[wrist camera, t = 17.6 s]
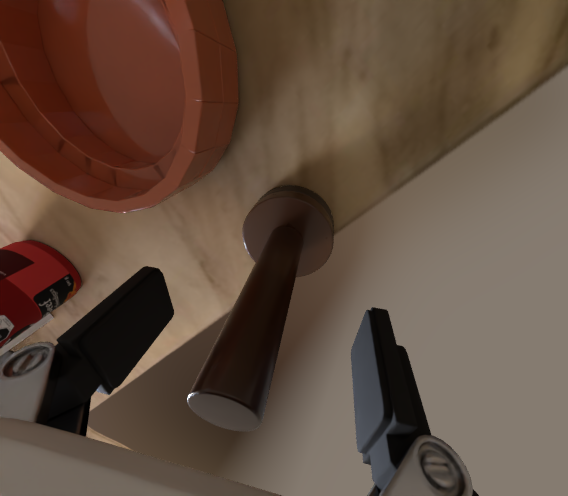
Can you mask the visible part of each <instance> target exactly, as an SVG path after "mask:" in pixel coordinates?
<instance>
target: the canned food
mask: <svg viewBox="0 0 568 496" xmlns="http://www.w3.org/2000/svg"><path fill="white" fill-rule="evenodd" d="M80 287H81V279H80V276H79V274H78V272H77V271H76V269H75V268H74V266H73V265H72V264H71V263H70V262H69V261H68V260H67V259H66V258H65V257H64V256H63V255H61V254H60V253H59V252H57V251H56V250H54V249H53V248H51V247H49V246H47V245H45V244H43V243H40V242H37V241H31V240H27V241H21V242H15V243H12V244H10V245H8V246H5V247H3V248H0V349H1V348H2V347H4V346H5V345H7V344H8V343H9V342H11V341H12V340H13V339H15V338H16V337H18V336H19V335H20V334H22V333H23V332H24V331H26V330H27V329H29V328H30V327H31V326H33V325H34V324H35V323H37V322H38V321H40V320H41V319H42V318H44V317H45V316H46V315H48V314H49V313H51V312H52V311H53V310H55V309H56V308H57V307H59V306H60V305H62V304H63V303H64V302H66V301H67V300H68V299H70V298H71V297H73V296H74V295H75V294H76V293H77V291H78V290H79V289H80Z"/></svg>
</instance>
